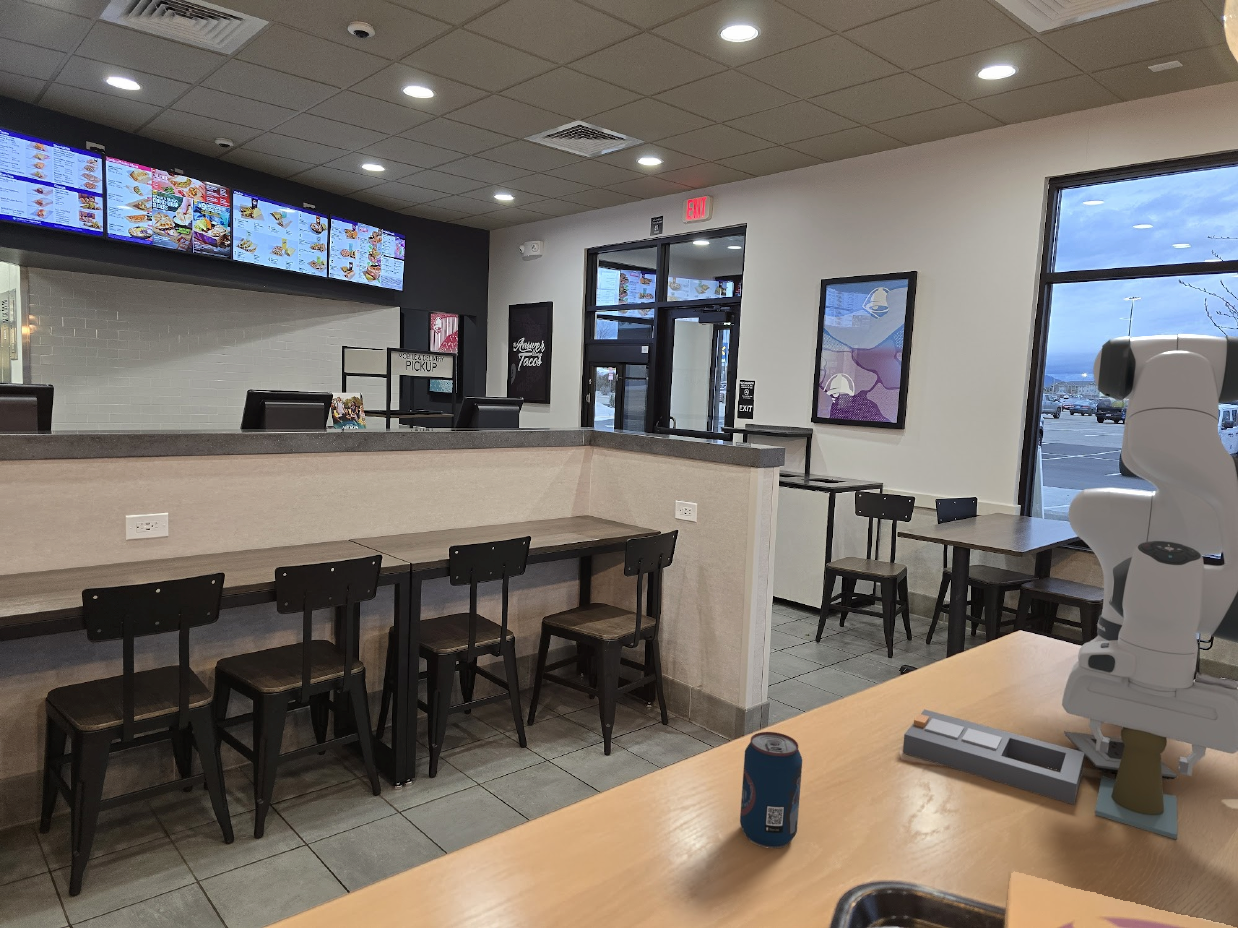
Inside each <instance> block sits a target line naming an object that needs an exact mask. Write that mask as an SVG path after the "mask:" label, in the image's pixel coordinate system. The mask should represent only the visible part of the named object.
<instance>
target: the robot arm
mask: <svg viewBox="0 0 1238 928" xmlns="http://www.w3.org/2000/svg"><path fill="white" fill-rule="evenodd" d="M1092 368H1093V369H1092V373H1093V379H1094V382H1095V384H1096V386H1097V390H1098V391H1099V392H1100V393H1101V395H1103V396H1105V397H1106V398H1111V399H1115V400H1118V401H1120V400H1121V401H1123V400H1124V399H1128V403H1127V408H1126V411H1125V412H1126V413H1125V420H1124V428H1123V429H1124V430H1123V433H1122V434H1123V435H1122V444H1121V452H1120V453H1121V454H1120V456H1121V461H1122V463H1123V464H1124V466H1125V467H1126V468H1127V469H1128V470H1129V471H1130V472H1131V473H1133V474H1134V475H1136V476H1137V477H1139V478H1140V479H1143V480H1145V481H1146V482H1149V483H1150V484H1151V485H1153V486H1154V488H1156V490H1141V489H1133V488H1132V489H1131V488H1123V487H1122V488H1121V487H1120V488H1119V487H1110V486H1109V487H1096V488H1095V487H1094V488H1084V489H1082V490H1081V491H1080V492H1078V493H1077V494H1076V495H1075V496H1074V498H1073V499H1072V500H1071V502H1070V505H1069V508H1068V522H1069V525H1070V527H1071V530H1072V531H1073V532H1074V533H1075V535H1076V536H1077V537H1078V538H1080V539H1081V540H1082V541H1083V542H1084V543H1085V544H1086V545H1088V547H1089V548H1090V549H1091V550H1092V552H1093V553H1094V554H1095V556H1096V557H1097V560H1098V561H1099V565H1100V566H1101V569H1102V575H1103V604H1102V612H1101V614H1100V615H1099V616H1098V621H1097V625H1096V626H1097V630H1096V634H1097V636H1095V638H1094V639H1091V640H1090V641H1088V642H1084V644H1083V645H1081V647H1079V651H1078V656H1077V657H1078V660H1077V661H1076V662H1075V663H1074V665H1073V666H1072V668H1071V670H1070V672H1069V675H1068V678H1067V681H1066V684H1065V687H1064V691H1063V696H1062V702H1061V706H1062V708H1063V710H1065V712H1066V714H1069V715H1072V716H1077V717H1081V718H1084V719H1085V718H1086V719H1089V721H1088V722H1089V723H1088V725H1089V729H1090V731H1091V733H1092V735H1094V737H1095V739H1097V742H1096V751H1098V752H1103V753H1107V754H1108V748H1109V740H1110V738H1107V737H1103V736H1104V735H1103V733H1102V731H1101V728H1102V723H1105V724H1109V725H1114V726H1118V727H1121V728H1123V727H1125V728H1129V729H1133V730H1140V731H1145V732H1148V733H1152V734H1154V735H1158V736H1162V737H1166V739H1171V740H1174V741H1178V742H1181V743H1182V742H1183V743H1186V744H1191V750H1192V752H1191V753H1190V754H1189V755H1188V756H1187V757H1184V756H1181V755H1180V756H1179V759H1178V766H1177V773H1178V774H1182V775H1185V776H1189V777H1192V775H1193V768H1194V767H1193V766H1194V765H1196V764H1197V763H1198V762H1199V761H1201V759H1202V758H1204V757H1205V756H1206V752H1207V748H1208V749H1211V750H1215V751H1219V752H1222V753H1226V754H1230V755H1231V754H1236V753H1237V752H1238V681H1237V680H1234V679H1231V678H1226V677H1225V678H1222V677H1218V676H1214V675H1211V674H1207V673H1203V672H1198V671H1196V665H1197V661H1198V660H1197V659H1198V652H1199V645H1198V639H1197V634H1203V635H1206V636H1207V635H1208V636H1211V637H1213V638H1217V639H1221V640H1225V641H1228V642H1232V643H1237V644H1238V457H1235V456H1234V455H1231V454H1230V453H1229V451H1228V450H1227V449H1226V447H1225V445H1224V443H1223V442H1222V439H1221V437H1220V434H1219V411H1220V409H1219V406H1220V404H1225V403H1232V402H1237V401H1238V336H1232V335H1225V336H1215V335H1205V334H1190V333H1188V334H1187V333H1177V334H1174V335H1173V334H1171V335H1169V334H1167V335H1166V334H1163V335H1147V336H1146V335H1145V336H1137V337H1131V336H1130V335H1126V336H1120V337H1119V336H1118V337H1114V338H1111V339H1108V340H1107V341H1106V342H1105V343H1103V344H1102V346H1101V349H1100V350H1099V351H1098V353H1097V355H1096V357H1095V359H1094V363H1093V367H1092ZM1221 553H1222V554H1223V560H1224V564H1222V565H1212V564H1204V557H1203V556H1211V555H1212V556H1213V555H1217V556H1218V555H1220V554H1221Z"/></svg>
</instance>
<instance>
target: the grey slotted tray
mask: <svg viewBox="0 0 1238 928" xmlns="http://www.w3.org/2000/svg"><path fill="white" fill-rule="evenodd" d="M902 744H903V745H902V753H903V754H906V755H908V756H912V757H916V758H919V759H921V760H924V761H925V760H926V761H928V762H932V763H934V764H939V765H942V766H945V767H948V768H952V769H955V770H958V771H962V772H965V773H969V774H970V775H971V774H972V775H974V776H978V777H980V778H981V777H982V778H984V779H988V780H991V781H995V782H997V783H1001V784H1004V785H1008V786H1011V787H1013V788H1018V789H1020V790H1024V791H1027V792H1030V793H1033V794H1034V793H1035V794H1038V795H1040V796H1044V797H1047V798H1051V799H1054V800H1057V801H1060V802H1064V803H1067V804H1070V805H1073V806H1074V805H1076V800H1077V795H1078V791H1079V787H1080V783H1081V778H1082V775H1081V774H1083V768H1084V760H1085V756H1084V753H1085V752H1081V751H1080V750H1077V749H1073V748H1070V747H1066V746H1063V745H1062V746H1061V745H1059V744H1055V743H1050V742H1047V741H1044V740H1041V739H1040V740H1039V739H1035V738H1031V737H1028V736H1025V735H1022V734H1021V735H1020V734H1018V733H1013V732H1010V731H1007V730H1003V729H999V728H996V727H992V726H989V725H988V726H987V725H983V724H979V723H976V722H972V721H968V720H967V719H966V720H965V719H961V718H958V717H955V716H952V715H951V716H950V715H947V714H943V713H939V712H936V711H931V710H928V709H923V711H922V712H921V713H917V715H916V717H915V718H914V720H913V722H912V724H911V725H910V726H909V728H908V729H907V730H906V731H905V733H904V736H903V743H902ZM1047 767H1049V768H1047ZM1050 768H1052V769H1050ZM1054 769H1057V770H1059V771H1057V770H1054Z"/></svg>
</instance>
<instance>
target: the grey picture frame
mask: <svg viewBox="0 0 1238 928" xmlns="http://www.w3.org/2000/svg"><path fill="white" fill-rule="evenodd" d="M1063 734H1064V736H1065V737H1067V739H1068V740H1069V741H1070V742H1071V743H1072V744H1073V745H1074V746H1075V747H1076V748H1077V749H1078V751H1081V752H1085V753H1084V758H1086V759H1087V760H1088V761H1089V762H1090V764H1092V766H1094V768H1095V769H1096V770H1098V771H1101V772H1108V773H1110V774H1111V775H1115V776H1117V773H1118V769H1119V765H1120V762H1121V758H1122V754H1123V750H1124V746H1125V745H1124V743H1123V741H1122V739H1121V737H1117V736H1116V737H1115V736H1106V735H1103V737H1107V738H1110V740H1109V748H1108V754H1107V753H1103V752H1098V751H1096V742H1097V739H1095V737H1094V735H1093V733H1092V734H1091V733H1083V732H1074V731H1065V730H1064V731H1063ZM1161 770H1162V780H1174V779H1178V774H1177V773H1175V772H1174V771H1173V770H1172V769H1171V768H1169V767H1168V766H1167V765H1166V764H1165V763H1163V761H1161Z"/></svg>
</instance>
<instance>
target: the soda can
mask: <svg viewBox="0 0 1238 928" xmlns="http://www.w3.org/2000/svg"><path fill="white" fill-rule="evenodd" d="M802 770H803V757H802V755H801V752H800V750H799V743H798V742H797V741H796V740H795V739H794V738H793V737H791V736H789V735H787V734H784V733H780V732H775V731H761V732H758V733H757V732H756V733H755V734H753V735H752V736H751V737H750V741H749V743H748V745H747V747H746V748H745V750H744V761H743V773H742V789H741V798H740V799H741V800H740V801H741V803H740V804H741V805H740V815H739V816H740V817H739V824H740V827H741V829H742V831H743V832H744V835H745V837H746V839H748V840H749V841H750V842H751V841H752V844H754V843H755V845H756V844H757V846H759V845H760V846H759V847H762V848H766V847H768V848H767V849H781V848H783V847H786V846H788V845H787V844H789V843H790V842H791V841H792V840H793V839H794V838H795V836H796V834H797V833H798V826H799V824H798V822H799V813H800V812H799V809H800V799H801V798H800V795H801V783H802ZM780 847H781V848H780Z"/></svg>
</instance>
